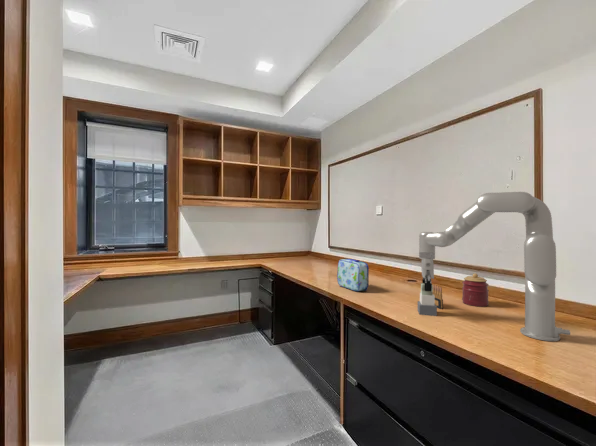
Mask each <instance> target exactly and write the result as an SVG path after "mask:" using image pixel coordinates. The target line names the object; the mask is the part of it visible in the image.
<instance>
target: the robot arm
mask: <svg viewBox="0 0 596 446" xmlns="http://www.w3.org/2000/svg"><path fill="white" fill-rule="evenodd" d="M495 213H518V214H519V213H520V214H522V215H523V216H524V222H525V240H524V243H523V258H524V259H523V265H524V267H523V268H524V270H523V271H524V278H525V279H524V282H525V283H524V285H525V287H524V327H521V328H520V330H519V331H520V333H521V334H522V335H524V336H526V337H529V338H532V339H535V340H539V341H544V342H545V341H546V342H558V341H560V340H561V335H566V336H570V335H571V331H570V329H563V328H562V327H557V326H556V278H557V248H556V247H557V246H556V243H555V240H554V234H553V232H554V231H553V229H554V228H553V218H552V213H551V211H550V208H549V207H548V205H547V204H546V203H545V202H544V201H543V200H541V199H539V198H537V197H535V196H533V195H532V194H530V193H528V192H526V191H507V192H506V191H505V192H503V191H502V192H484V193H482V194H481V195H479V196H478V198H477V200H476V201H475V202H474V203H473V204H472V205H471V206H469V207H468V208H467V209H466V210H464V211H463V212H462V213H460V214H459V216H458V218H457V219H456V221H455V222H454V223H453V224H452V225H450V226H449V227H448V228H446V229H445V230H444V231H439V232H433V231H422V232H421V231H420V232H419V235H418V237H419V238H418V246H419V247H418V258H419V259H420V260H421V264H420V265H421V277H422V280H421V281H422V282H421V283H425V291H432V285H433V283H432V280H434V279H435V272H434V267H435V266H434V260H436V247H437V248H438V247H439V248H446V247H449V246H452V245H453V244H455V243H456V242H457V241H459V240H460V239H462V238H463V237H465V235H466V234H468V233H469V232H471V231H472V230H473V229H474V228H476V227H478V225H480V224H481V223H483V222H484V221H485V220H486V219H488V218H489V217H491V216H492V215H494V214H495Z"/></svg>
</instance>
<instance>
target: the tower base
mask: <svg viewBox="0 0 596 446" xmlns="http://www.w3.org/2000/svg"><path fill="white" fill-rule="evenodd" d="M437 310H438V308H437V306H436V305H435V306H432V305H422V304H421V303H420V300H417V312H418V314H419V315H420V316H430V317H437V316H438V311H437Z"/></svg>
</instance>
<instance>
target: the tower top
mask: <svg viewBox="0 0 596 446" xmlns="http://www.w3.org/2000/svg"><path fill="white" fill-rule="evenodd" d="M419 301H420V303H421V304H422V305H432V306H435V296H434V295H433V296H431V295H422V294H421V291H419Z"/></svg>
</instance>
